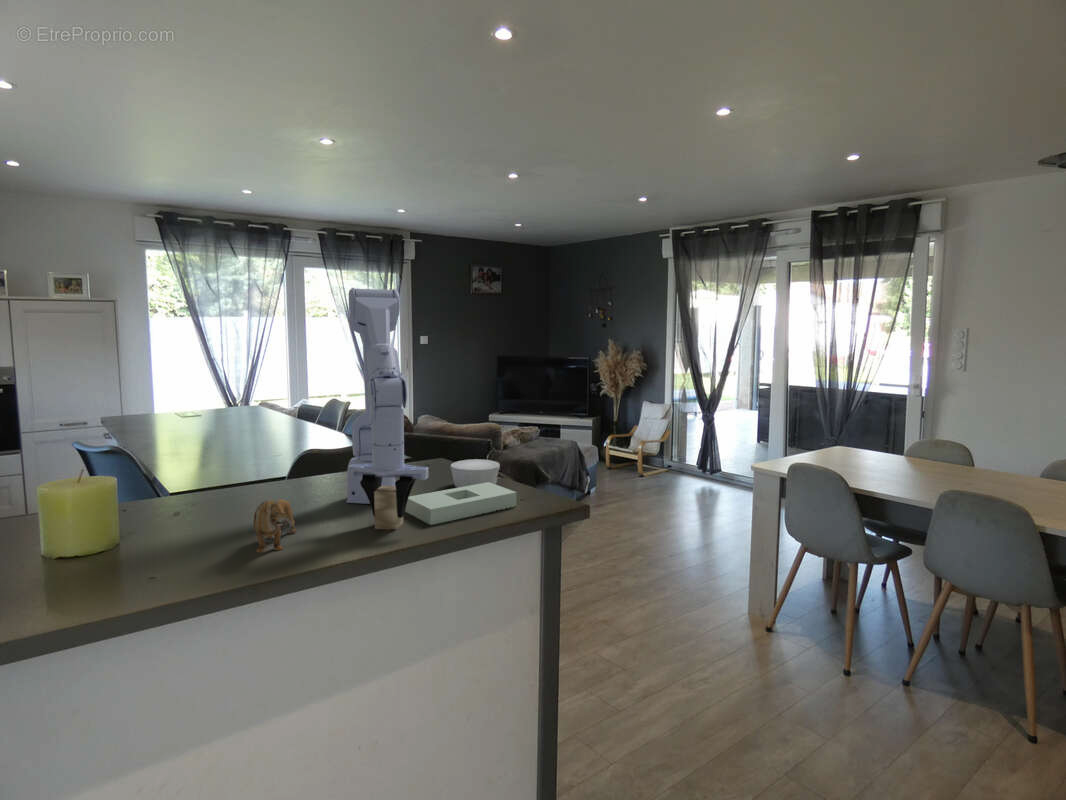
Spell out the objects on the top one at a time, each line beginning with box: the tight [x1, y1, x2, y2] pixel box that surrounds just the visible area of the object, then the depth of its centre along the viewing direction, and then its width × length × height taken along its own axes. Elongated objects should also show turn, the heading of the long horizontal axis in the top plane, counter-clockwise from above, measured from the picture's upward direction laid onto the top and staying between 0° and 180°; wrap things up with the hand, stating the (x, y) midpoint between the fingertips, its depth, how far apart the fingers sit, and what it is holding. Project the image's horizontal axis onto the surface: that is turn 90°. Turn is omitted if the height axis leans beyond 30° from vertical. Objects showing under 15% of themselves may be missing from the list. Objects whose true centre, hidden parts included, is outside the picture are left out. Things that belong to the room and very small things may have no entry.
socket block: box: [405, 482, 518, 526], centre depth 126 cm, size 20×10×3 cm, turn 129°
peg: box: [374, 486, 404, 531], centre depth 115 cm, size 4×4×7 cm
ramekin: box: [450, 458, 501, 488], centre depth 143 cm, size 11×11×5 cm
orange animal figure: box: [252, 499, 297, 553], centre depth 105 cm, size 15×5×9 cm, turn 14°
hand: (389, 515), depth 115 cm, fingers closed on peg, 4 cm apart
